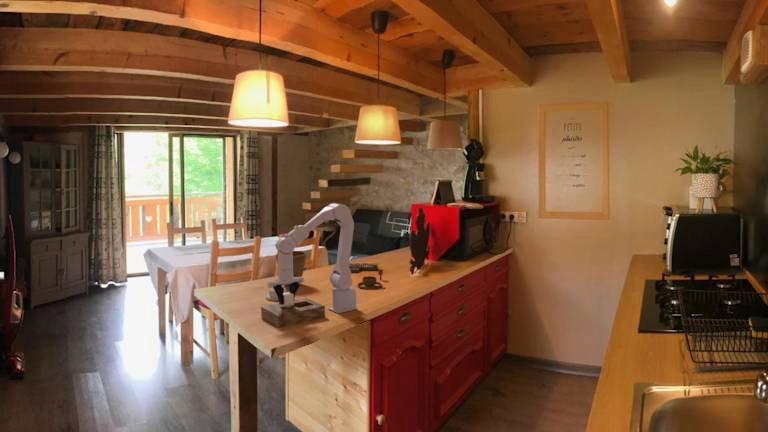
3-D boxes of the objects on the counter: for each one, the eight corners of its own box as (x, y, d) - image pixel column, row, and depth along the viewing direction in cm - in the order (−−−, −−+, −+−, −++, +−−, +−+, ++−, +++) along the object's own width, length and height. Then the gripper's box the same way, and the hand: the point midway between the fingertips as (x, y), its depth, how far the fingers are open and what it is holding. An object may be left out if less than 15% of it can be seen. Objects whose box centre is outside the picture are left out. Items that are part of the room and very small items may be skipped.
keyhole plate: (306, 308, 201) (306, 297, 201) (325, 316, 190) (324, 305, 189) (261, 317, 189) (261, 306, 189) (278, 327, 177) (277, 315, 177)
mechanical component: (281, 294, 225) (262, 298, 218) (281, 284, 224) (262, 288, 218) (293, 298, 218) (273, 302, 211) (292, 288, 217) (273, 292, 210)
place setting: (349, 286, 240) (349, 274, 240) (380, 279, 253) (380, 268, 252) (370, 293, 227) (370, 280, 226) (402, 286, 239) (402, 274, 239)
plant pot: (283, 280, 250) (282, 250, 249) (310, 281, 248) (309, 251, 246) (272, 287, 236) (271, 255, 234) (301, 288, 233) (300, 256, 232)
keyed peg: (290, 312, 191) (289, 291, 190) (296, 314, 187) (295, 293, 186) (278, 314, 188) (277, 293, 187) (284, 317, 184) (283, 296, 183)
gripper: (297, 264, 193) (298, 297, 195) (263, 269, 184) (264, 303, 186) (306, 267, 188) (306, 301, 189) (271, 272, 179) (272, 308, 180)
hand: (286, 302), depth 187 cm, fingers closed on keyed peg, 4 cm apart
